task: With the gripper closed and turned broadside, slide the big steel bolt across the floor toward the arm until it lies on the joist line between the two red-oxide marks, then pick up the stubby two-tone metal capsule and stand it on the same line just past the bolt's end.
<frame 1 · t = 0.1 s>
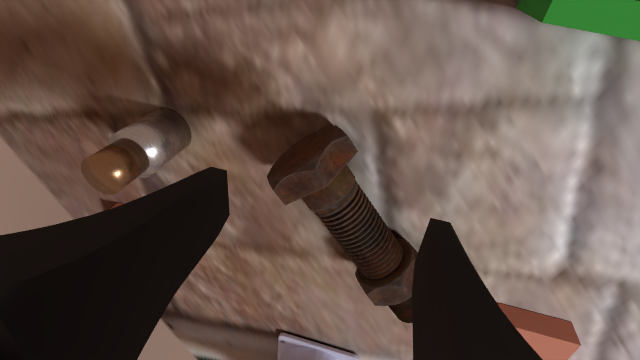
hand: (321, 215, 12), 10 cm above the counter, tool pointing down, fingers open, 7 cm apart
two-tone metal capsule: (170, 129, 25), on the counter
bolt: (370, 217, 25), on the counter
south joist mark: (525, 324, 26), on the counter
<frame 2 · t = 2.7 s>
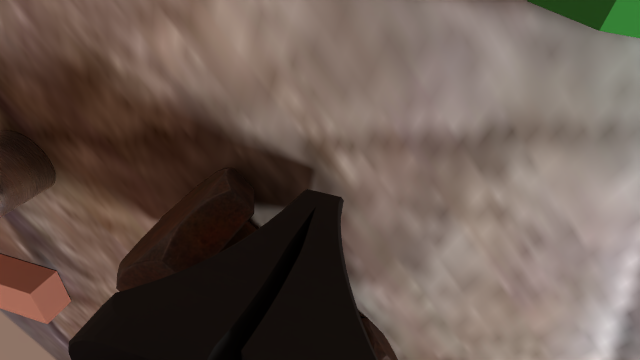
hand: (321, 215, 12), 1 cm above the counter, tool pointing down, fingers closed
two-tone metal capsule: (25, 160, 17), on the counter
bolt: (317, 288, 17), on the counter, touching gripper
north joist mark: (32, 276, 23), on the counter
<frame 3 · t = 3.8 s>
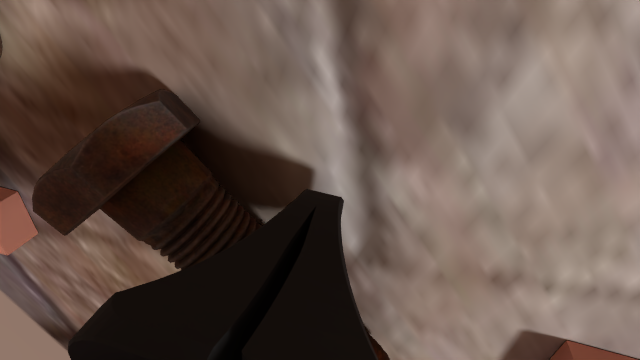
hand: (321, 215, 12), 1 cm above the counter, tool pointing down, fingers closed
bolt: (277, 239, 16), on the counter, touching gripper
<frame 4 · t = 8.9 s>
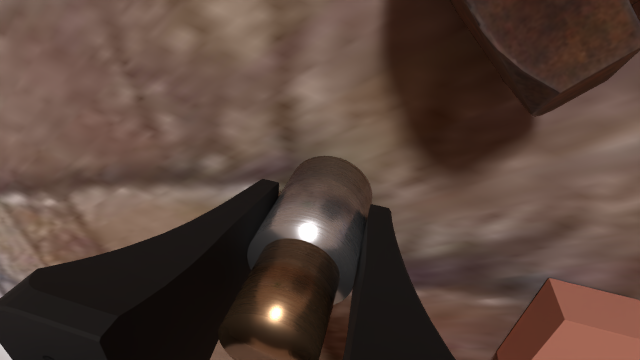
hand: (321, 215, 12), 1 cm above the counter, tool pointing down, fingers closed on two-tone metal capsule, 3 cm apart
two-tone metal capsule: (330, 193, 13), on the counter, touching gripper
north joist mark: (559, 328, 14), on the counter
when the fingers open (2 cm above the counter, at t = 11.7 s): two-tone metal capsule stays where it is, on the counter.
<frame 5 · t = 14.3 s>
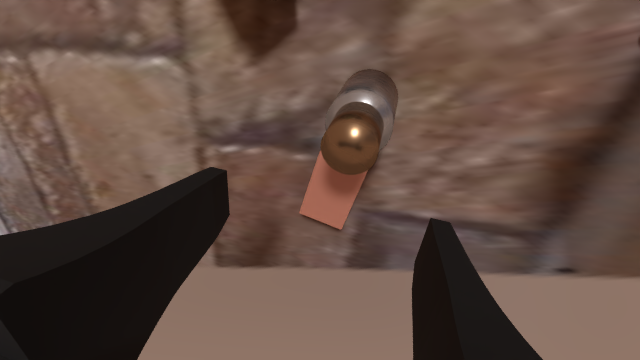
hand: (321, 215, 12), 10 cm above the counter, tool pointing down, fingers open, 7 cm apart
two-tone metal capsule: (369, 97, 20), on the counter
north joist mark: (337, 178, 23), on the counter
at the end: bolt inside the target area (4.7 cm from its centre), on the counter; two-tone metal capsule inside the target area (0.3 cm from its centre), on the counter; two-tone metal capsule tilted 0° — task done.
